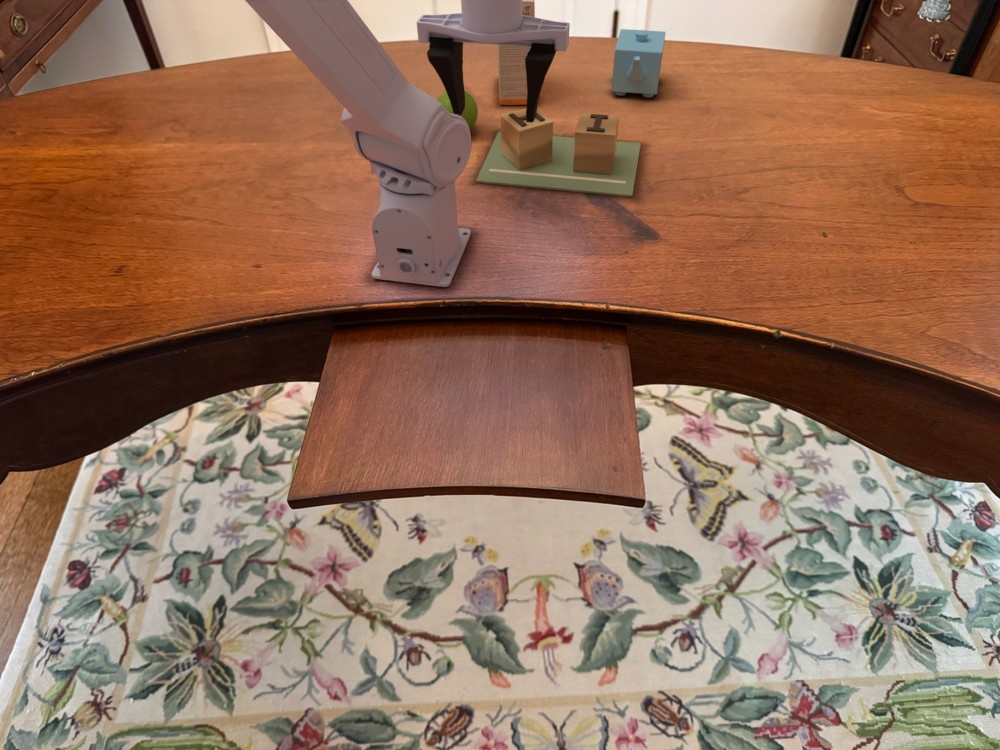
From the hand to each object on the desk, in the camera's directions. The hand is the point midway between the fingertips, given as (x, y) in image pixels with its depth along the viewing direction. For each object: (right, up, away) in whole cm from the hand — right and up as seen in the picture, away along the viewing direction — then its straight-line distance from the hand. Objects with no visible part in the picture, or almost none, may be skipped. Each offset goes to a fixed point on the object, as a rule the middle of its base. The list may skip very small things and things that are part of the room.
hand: (495, 115), depth 74 cm
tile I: (+12, -2, +10) cm, 16 cm away
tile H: (+4, -1, +12) cm, 12 cm away
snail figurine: (-5, +4, +17) cm, 18 cm away
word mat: (+8, -2, +11) cm, 14 cm away
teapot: (+19, +12, +24) cm, 33 cm away
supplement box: (+3, +12, +25) cm, 28 cm away
